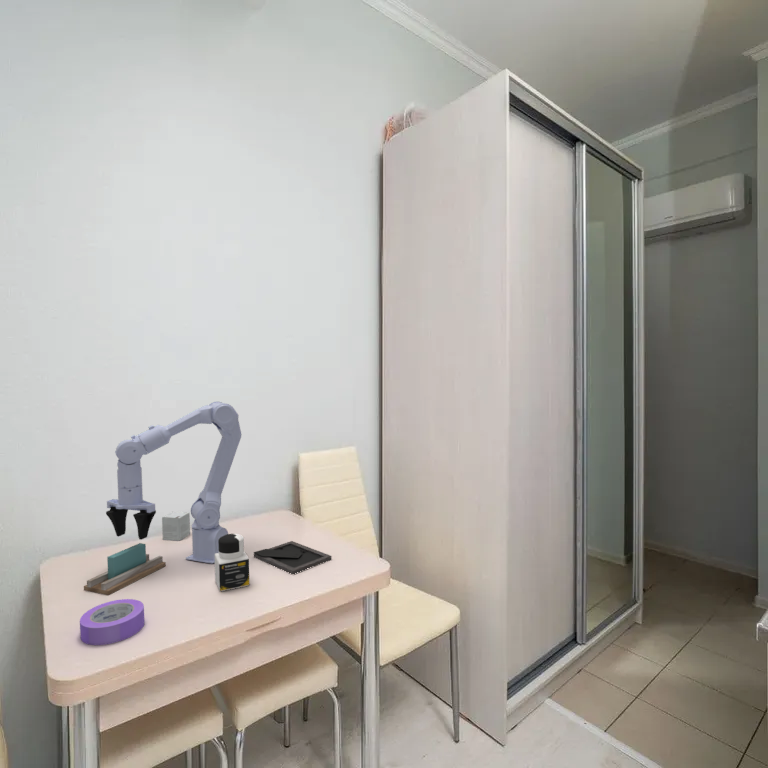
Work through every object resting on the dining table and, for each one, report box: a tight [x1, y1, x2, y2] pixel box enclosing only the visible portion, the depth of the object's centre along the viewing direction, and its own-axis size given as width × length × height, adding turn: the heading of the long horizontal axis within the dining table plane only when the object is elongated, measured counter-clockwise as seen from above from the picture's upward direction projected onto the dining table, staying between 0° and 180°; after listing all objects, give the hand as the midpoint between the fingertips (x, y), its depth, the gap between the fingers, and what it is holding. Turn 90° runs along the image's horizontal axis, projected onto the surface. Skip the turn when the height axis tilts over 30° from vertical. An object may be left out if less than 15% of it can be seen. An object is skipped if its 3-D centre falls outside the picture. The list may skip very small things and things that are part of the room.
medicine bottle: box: [214, 533, 250, 592], centre depth 124 cm, size 7×7×12 cm
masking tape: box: [79, 598, 146, 646], centre depth 103 cm, size 12×12×4 cm
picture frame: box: [253, 540, 332, 575], centre depth 139 cm, size 13×2×18 cm
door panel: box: [106, 542, 147, 580], centre depth 128 cm, size 2×10×6 cm, turn 159°
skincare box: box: [161, 511, 191, 542], centre depth 158 cm, size 6×6×7 cm
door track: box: [83, 553, 167, 596], centre depth 128 cm, size 8×18×2 cm, turn 160°
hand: (131, 536), depth 131 cm, fingers open, 7 cm apart
